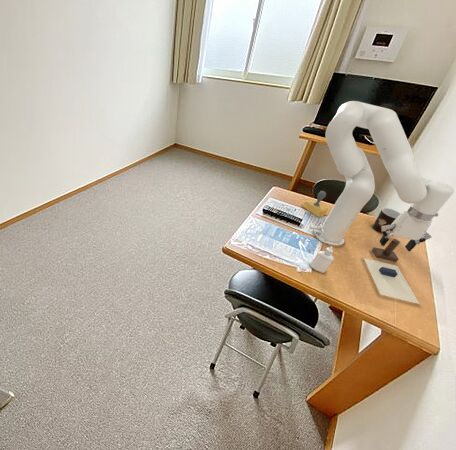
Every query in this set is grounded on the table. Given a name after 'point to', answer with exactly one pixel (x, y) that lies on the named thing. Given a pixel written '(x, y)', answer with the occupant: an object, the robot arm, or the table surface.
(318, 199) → the rubber stamp
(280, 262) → the table surface
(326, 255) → the eye dropper bottle
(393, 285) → the tile
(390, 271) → the eraser
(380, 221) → the coffee mug
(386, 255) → the handled square plate
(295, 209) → the table surface
